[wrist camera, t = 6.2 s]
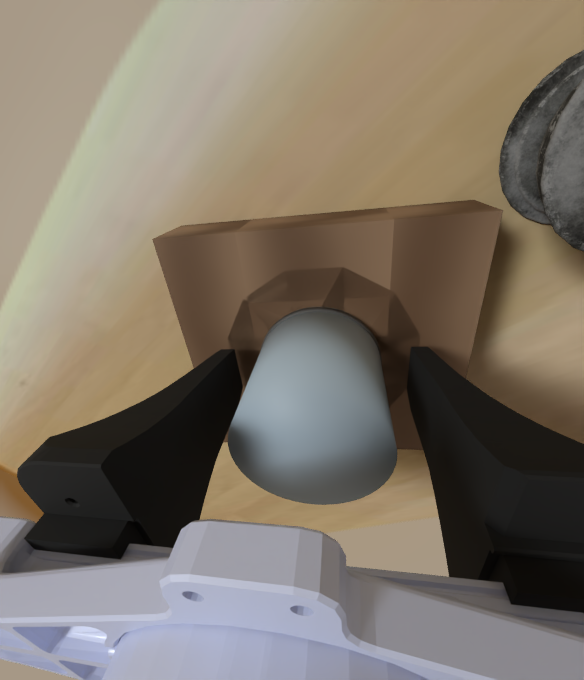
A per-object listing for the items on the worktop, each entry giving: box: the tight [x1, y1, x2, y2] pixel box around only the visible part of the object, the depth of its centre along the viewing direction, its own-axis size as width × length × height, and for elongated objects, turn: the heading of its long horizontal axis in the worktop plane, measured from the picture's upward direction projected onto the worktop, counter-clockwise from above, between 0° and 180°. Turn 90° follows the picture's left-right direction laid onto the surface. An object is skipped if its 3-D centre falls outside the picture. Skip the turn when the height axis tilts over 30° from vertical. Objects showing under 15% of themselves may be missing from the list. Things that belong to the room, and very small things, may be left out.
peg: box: [228, 307, 397, 505], centre depth 12 cm, size 5×5×7 cm
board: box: [152, 200, 503, 450], centre depth 15 cm, size 12×11×2 cm
